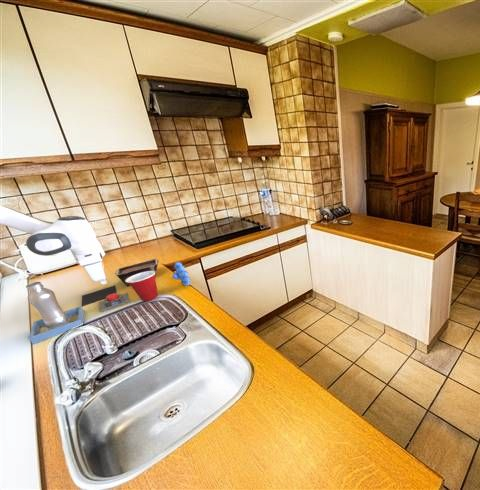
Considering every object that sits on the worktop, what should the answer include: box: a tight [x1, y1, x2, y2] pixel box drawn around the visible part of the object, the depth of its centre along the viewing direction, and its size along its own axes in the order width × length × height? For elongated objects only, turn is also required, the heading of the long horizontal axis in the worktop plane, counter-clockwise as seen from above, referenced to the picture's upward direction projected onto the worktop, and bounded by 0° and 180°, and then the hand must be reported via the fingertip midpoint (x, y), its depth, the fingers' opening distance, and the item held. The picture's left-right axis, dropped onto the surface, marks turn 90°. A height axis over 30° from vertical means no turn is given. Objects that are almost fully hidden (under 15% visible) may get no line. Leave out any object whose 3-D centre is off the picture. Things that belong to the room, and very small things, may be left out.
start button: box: [106, 293, 118, 301], centre depth 118 cm, size 4×4×2 cm
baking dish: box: [114, 258, 159, 287], centre depth 139 cm, size 14×18×10 cm
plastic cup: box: [125, 271, 159, 302], centre depth 120 cm, size 11×11×12 cm
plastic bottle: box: [25, 281, 71, 330], centre depth 102 cm, size 6×7×20 cm
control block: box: [98, 292, 131, 314], centre depth 119 cm, size 10×9×3 cm
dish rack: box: [28, 305, 85, 345], centre depth 106 cm, size 14×14×3 cm
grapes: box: [171, 261, 191, 287], centre depth 129 cm, size 12×7×12 cm, turn 50°
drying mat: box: [81, 284, 118, 307], centre depth 126 cm, size 12×12×1 cm
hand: (104, 282), depth 115 cm, fingers closed
